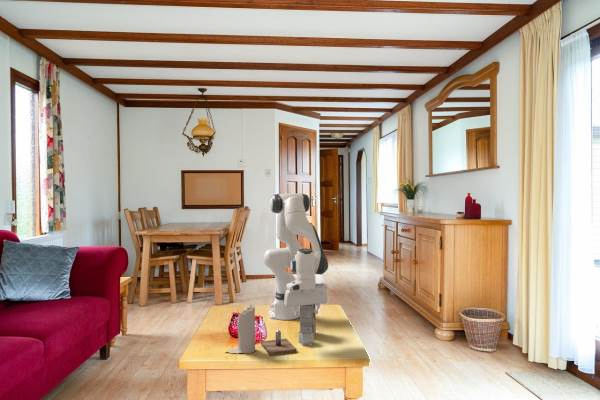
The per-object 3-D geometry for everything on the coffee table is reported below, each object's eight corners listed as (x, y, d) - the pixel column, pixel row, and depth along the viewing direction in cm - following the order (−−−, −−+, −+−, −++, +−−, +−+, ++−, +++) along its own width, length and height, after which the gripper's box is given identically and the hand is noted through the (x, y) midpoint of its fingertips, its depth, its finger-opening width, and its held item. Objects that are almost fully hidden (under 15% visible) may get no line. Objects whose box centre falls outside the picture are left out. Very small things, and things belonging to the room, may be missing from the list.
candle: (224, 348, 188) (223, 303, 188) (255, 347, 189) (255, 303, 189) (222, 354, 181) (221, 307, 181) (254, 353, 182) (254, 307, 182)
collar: (298, 342, 196) (298, 331, 196) (309, 340, 198) (309, 330, 198) (302, 345, 191) (302, 334, 191) (313, 344, 193) (313, 333, 193)
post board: (261, 344, 193) (261, 341, 193) (286, 341, 197) (286, 338, 197) (269, 355, 179) (269, 352, 179) (296, 352, 183) (296, 348, 183)
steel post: (275, 344, 189) (274, 330, 189) (280, 343, 189) (280, 329, 189) (276, 346, 186) (276, 331, 186) (281, 345, 187) (281, 330, 187)
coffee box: (303, 331, 212) (303, 299, 212) (316, 332, 210) (315, 300, 210) (299, 337, 203) (299, 304, 203) (313, 338, 201) (312, 304, 201)
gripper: (324, 281, 201) (324, 310, 201) (283, 284, 194) (283, 315, 194) (329, 283, 195) (329, 314, 195) (287, 287, 188) (287, 318, 188)
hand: (306, 314), depth 194 cm, fingers open, 8 cm apart
